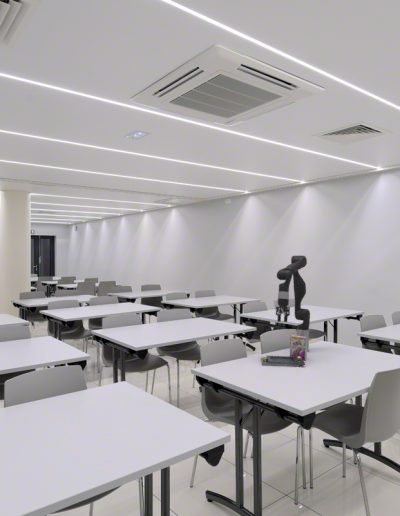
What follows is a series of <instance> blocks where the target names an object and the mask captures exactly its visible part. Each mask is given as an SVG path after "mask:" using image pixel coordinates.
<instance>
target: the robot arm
mask: <svg viewBox="0 0 400 516" xmlns="http://www.w3.org/2000/svg"><path fill="white" fill-rule="evenodd" d="M307 264H308V259H307V257H306V255H292V256H291V259H290V264H288V265H286V266H285V267H284V268H281V269H279V270H278V271H277V272H276V278H277V280H280V281H284V282H282V283H279V284H278V293H277V306H276V309H275V315H276V316H277V322H278V323H279V322H281V321H282V317H281V316H282V315H283V322H284V323H287V322H288V317H289V316H290V315H291V308H290V306H289V304H290V285H291V281H292V278H293V294H294V296H293V297H294V317H295V320H297V321H302V323H299V324H297V325H296V336H303V337H307V353H309V352H308V351H309V349H310V348H309V346H310V344H309V343H310V342H309V341H310V325H311V324H310V323H311V322H310V320H311V312H310V310H309V309H308V308H302V302H303V299H304V298H305V295H306V293H307V285H306V282H305V280H304V279H303V277H302V276H301V274H300V273H299V271H300V270H301V269H303V268H305V267H306V266H307Z"/></svg>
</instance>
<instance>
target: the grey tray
mask: <svg viewBox="0 0 400 516" xmlns="http://www.w3.org/2000/svg"><path fill="white" fill-rule="evenodd" d="M260 361H261V365H262V367H263V366H267V367H270V366H271V367H289V368H290V367H292V368H293V367H294V368H299V366H303V365H304V366H305V361H303V359H302V358H301V356H297V357H293V356H290V355H289V356H288V355H287V356H286V355H284V356H283V355H266V356H263V357H260Z"/></svg>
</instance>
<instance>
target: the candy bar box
mask: <svg viewBox="0 0 400 516" xmlns="http://www.w3.org/2000/svg"><path fill="white" fill-rule="evenodd" d="M289 337H290V339H289V340H290V341H289V344H290V345H289V346H290V347H289V356H293V357H297V356H301V358H302V359H303V361H304V362H305V361H306V360H307V359H308V352H307V337H303V336H297V335H294V334H293V335H290V336H289Z"/></svg>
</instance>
